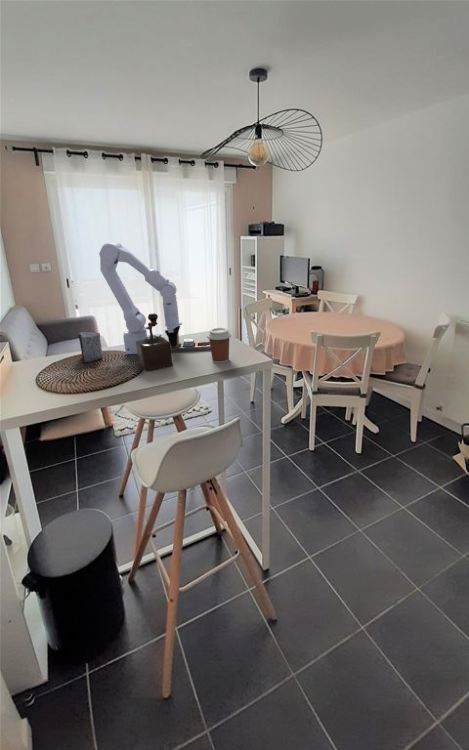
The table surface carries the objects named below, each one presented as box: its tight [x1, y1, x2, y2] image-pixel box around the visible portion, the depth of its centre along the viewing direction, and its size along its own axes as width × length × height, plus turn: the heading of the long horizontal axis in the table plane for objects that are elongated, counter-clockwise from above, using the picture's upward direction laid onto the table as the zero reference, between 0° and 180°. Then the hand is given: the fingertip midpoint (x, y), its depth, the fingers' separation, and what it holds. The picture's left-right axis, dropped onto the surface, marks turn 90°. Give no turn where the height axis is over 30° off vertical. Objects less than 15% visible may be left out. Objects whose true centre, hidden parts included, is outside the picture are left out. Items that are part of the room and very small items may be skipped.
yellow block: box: [168, 331, 181, 348], centre depth 152 cm, size 4×4×7 cm
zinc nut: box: [183, 338, 195, 347], centre depth 153 cm, size 4×4×4 cm
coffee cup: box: [206, 327, 232, 364], centre depth 136 cm, size 9×9×12 cm
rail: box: [171, 340, 211, 353], centre depth 153 cm, size 20×7×2 cm, turn 93°
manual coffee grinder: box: [136, 312, 174, 372], centre depth 136 cm, size 16×11×18 cm
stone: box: [77, 331, 105, 363], centre depth 145 cm, size 12×10×10 cm
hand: (174, 344), depth 152 cm, fingers closed on yellow block, 4 cm apart
